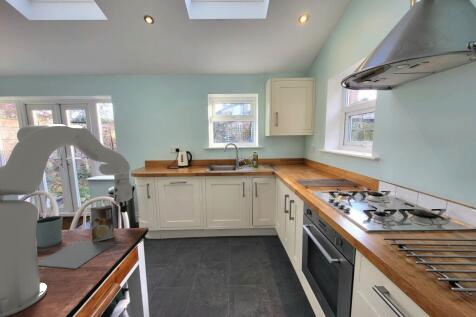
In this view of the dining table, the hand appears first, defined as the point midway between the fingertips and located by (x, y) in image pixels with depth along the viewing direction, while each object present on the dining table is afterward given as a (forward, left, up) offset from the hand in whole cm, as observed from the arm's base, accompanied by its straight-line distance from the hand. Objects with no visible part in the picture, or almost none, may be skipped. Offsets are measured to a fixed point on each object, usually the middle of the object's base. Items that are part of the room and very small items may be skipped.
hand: (123, 211), depth 112 cm
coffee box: (-15, 0, -9) cm, 18 cm away
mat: (-29, 0, -9) cm, 30 cm away
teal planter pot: (-22, +23, -9) cm, 33 cm away
